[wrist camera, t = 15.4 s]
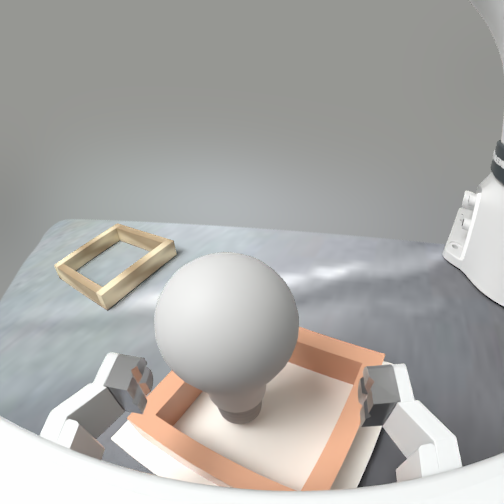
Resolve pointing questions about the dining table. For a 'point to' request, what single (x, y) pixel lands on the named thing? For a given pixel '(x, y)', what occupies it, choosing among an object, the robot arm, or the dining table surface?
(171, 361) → the lightbulb
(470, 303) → the dining table surface
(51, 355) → the dining table surface
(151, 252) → the square wooden frame
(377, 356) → the socket
